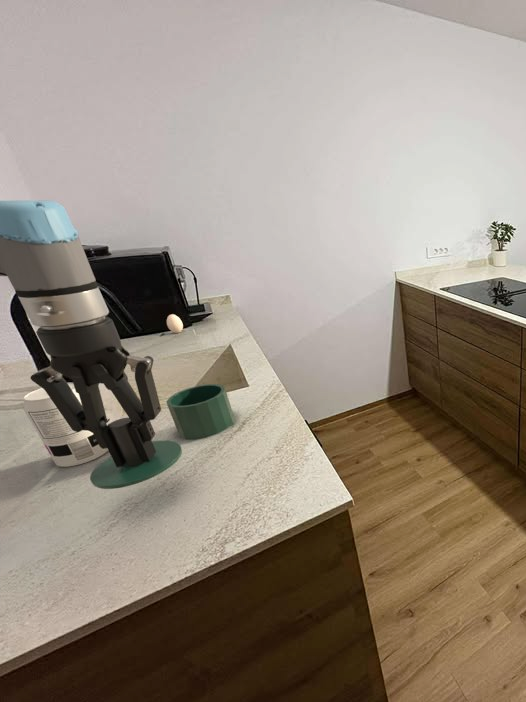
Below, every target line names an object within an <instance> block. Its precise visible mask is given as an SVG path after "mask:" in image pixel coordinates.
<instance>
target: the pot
mask: <svg viewBox="0 0 526 702" xmlns="http://www.w3.org/2000/svg"><path fill="white" fill-rule="evenodd" d="M166 405H167V408H168V410H169V413H170V416H171V418H172V420H173V423H174V425H175V428H176V431H177V433H178V436H179V437H180V438H182V439H184V440H201V439H206V438H210V437H211V436H214V435H215V436H216V435H218V434H220V433H222V432H223V431H225V430H227V429H228V428H230V427H233V426H234V425H235V422H236V418H235V415H234V412H233V409H232V405H231V403H230V399H229V396H228V393H227V390H226V387H224V385H223V384H219V383H207V384H200V385H199V384H198V385H196V386H195V385H194V386H191V387H188V388H185V389H182V390H180V391H178V392H176V393H174V394H173V395H171V396H170V397H169V398H167V400H166Z"/></svg>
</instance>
